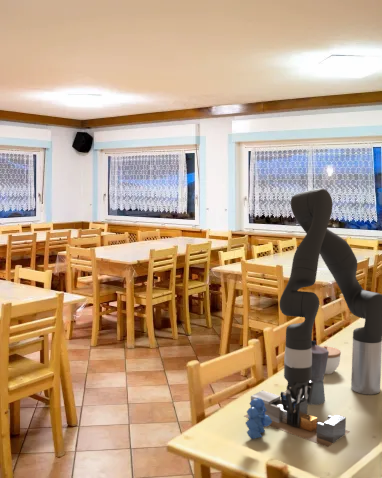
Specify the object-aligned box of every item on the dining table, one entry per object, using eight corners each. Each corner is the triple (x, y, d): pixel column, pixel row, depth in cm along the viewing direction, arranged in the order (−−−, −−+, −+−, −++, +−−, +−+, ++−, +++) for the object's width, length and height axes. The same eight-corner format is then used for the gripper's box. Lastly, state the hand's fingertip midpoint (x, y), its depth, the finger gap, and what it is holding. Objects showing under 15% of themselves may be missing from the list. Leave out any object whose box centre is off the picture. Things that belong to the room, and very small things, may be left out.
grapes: (265, 453, 139) (266, 408, 138) (240, 448, 142) (241, 403, 141) (277, 434, 150) (278, 392, 149) (253, 429, 153) (254, 388, 151)
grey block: (263, 408, 163) (263, 385, 162) (317, 427, 151) (318, 402, 150) (255, 412, 160) (255, 389, 159) (310, 432, 148) (310, 407, 147)
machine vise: (267, 408, 167) (268, 387, 166) (349, 436, 149) (350, 413, 148) (243, 421, 158) (244, 398, 157) (327, 452, 140) (328, 427, 139)
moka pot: (329, 397, 176) (330, 336, 174) (324, 416, 161) (326, 350, 159) (299, 393, 179) (300, 333, 177) (292, 411, 165) (293, 347, 162)
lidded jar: (343, 369, 202) (344, 344, 201) (334, 378, 193) (335, 352, 192) (315, 364, 208) (316, 340, 207) (305, 372, 199) (306, 347, 198)
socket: (329, 429, 150) (329, 412, 149) (345, 434, 147) (345, 417, 146) (316, 437, 145) (316, 420, 144) (332, 443, 142) (333, 425, 141)
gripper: (300, 353, 159) (298, 410, 161) (272, 365, 148) (271, 425, 150) (323, 359, 154) (321, 417, 155) (295, 372, 143) (294, 434, 145)
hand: (296, 421), depth 153 cm, fingers closed on grey block, 4 cm apart
